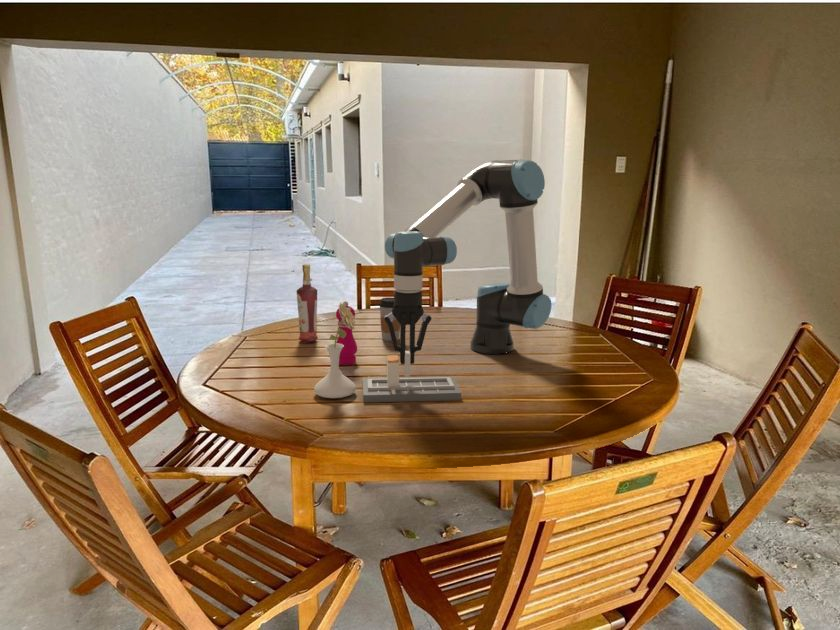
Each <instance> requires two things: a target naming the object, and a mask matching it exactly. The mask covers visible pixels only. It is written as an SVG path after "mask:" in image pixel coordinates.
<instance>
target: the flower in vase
mask: <svg viewBox="0 0 840 630" xmlns="http://www.w3.org/2000/svg"><path fill="white" fill-rule="evenodd" d="M338 308H339V313H340V316H341V318H342V320H341V322H340V324H339V326H338V327H337V330H336V334H335V335H332V334H330V337H329V340H330V341H334V342H332V343H328V344H327V343H326V344H325V345H324V347H325V348H326V350H327V352H328V355H329V360H330V369H329V372H328V374H327V375H325V376H324V377H322V379H320V380H319V381H318V382H317V383H316V384H315V386H314V387H313V392H314V393H315V394H316V395H317V396H319V397H321V398H324V399H325V398H327V399H342V398H347V397H348V396H351V395H353V394H354V393H355V392H356V390H357V386H356V384H355V383H354V382H353V381H352V380H351V379H349V378H348V377H347V376H346V375H344V374H343V373H342V372H341V370H340V364H339V356H340V352H341V350H342V348H343V347H344V345H343V344H339V343H336V342H337V340H338V338H339V336H340V337H341V338H344V337H345V336H346V332H345V331H344V330H342V329H339V328H340V325H341V323H342V321H343V322H344V324H345V325H346V326H347V328H350V329H352V331H353V330H356V328H355V327H356V326H357V323H356V316H355V317H354V316H353V314H352V313H351V310H350V308H347V307H346V304H345V303H343V302H340V303H339V305H338Z"/></svg>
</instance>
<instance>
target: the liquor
mask: <svg viewBox="0 0 840 630" xmlns="http://www.w3.org/2000/svg"><path fill="white" fill-rule="evenodd" d="M302 273H303V275H302V286H300V287H298V289H296V302H297V304H296V305H297V313H298V314H297V315H298V324H299V325H298V326H299V337H298V340H299V341H300V342H301V343H302V344H303V343H304V344H312V343H315V342H316V341H317V340H318V338H319V337H318V336H317V335H318V333H317V322H318V320H317V317H318V315H317V313H318V289H316V288H315V287H314V286H312V282H311V264H302Z"/></svg>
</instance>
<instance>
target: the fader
mask: <svg viewBox="0 0 840 630" xmlns="http://www.w3.org/2000/svg"><path fill="white" fill-rule="evenodd" d="M386 377H387V386H399V377H400V357H399V355H397V354H391V355H386Z"/></svg>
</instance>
